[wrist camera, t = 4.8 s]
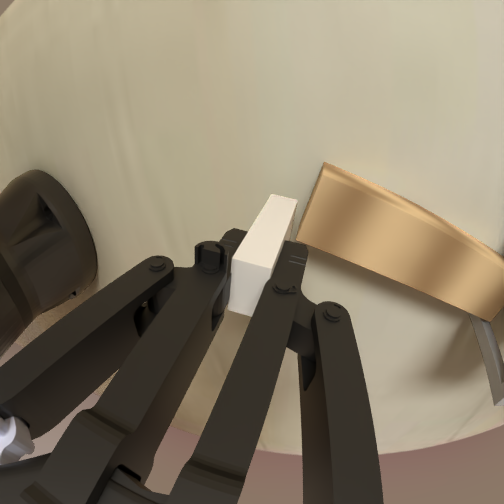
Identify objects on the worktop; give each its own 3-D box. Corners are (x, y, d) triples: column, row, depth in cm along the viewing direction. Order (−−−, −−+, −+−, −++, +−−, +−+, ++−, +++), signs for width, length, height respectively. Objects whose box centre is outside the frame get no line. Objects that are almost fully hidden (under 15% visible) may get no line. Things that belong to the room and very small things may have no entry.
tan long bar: (301, 216, 18) (295, 239, 16) (324, 160, 16) (322, 174, 13) (478, 296, 17) (489, 322, 14) (506, 257, 15) (522, 281, 12)
